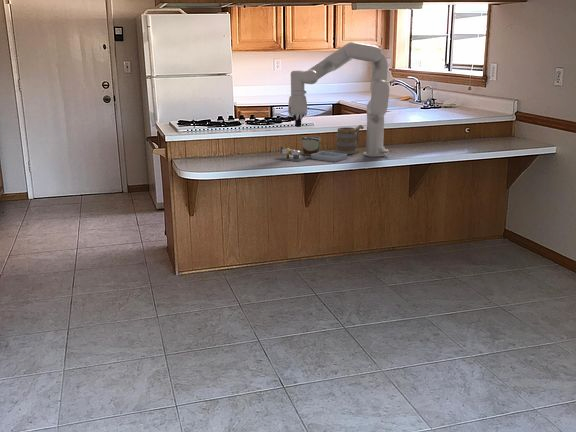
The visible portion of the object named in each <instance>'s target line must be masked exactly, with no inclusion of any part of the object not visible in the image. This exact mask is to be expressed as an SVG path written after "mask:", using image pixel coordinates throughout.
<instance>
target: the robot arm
mask: <svg viewBox="0 0 576 432" xmlns="http://www.w3.org/2000/svg"><path fill="white" fill-rule="evenodd" d="M352 60H358V61H365V62H369V63H370V64H371V78H370V85H369V91H370V93H371V94H370V95H371V96H370V100H369V101H368V103H367V104H366V146H365V150H366V151H364V152H362V153H363V156H364V157H365V156H366V157H371V158H372V157H374V158H375V157H376V158H378V157H385V156H386V155H387V154H389V153H390V150H389V149H386V146H384V138H385V137H384V133H385V132H384V130H385V115H386V114H387V111H388V106H389V97H390V85H389V83H388V71H389V69H388V68H389V67H388V65H389V64H388V59H387V57H386V56H385V54H384V52H383V51H382V49H381V47H379V46H377V45H371V44H365V43H361V42H355V41H350V42H348V43H346V44H344V45H343V46H341V47H340V48H339V49H337V50H336V51H333V52H332V53H330V55H328V56H326V57H325V58H324V59H323V60H321V61H319V62H318V63H317V64H315V65H314V66H312V67H311V68H309V69H307V70H305V71H304V70H291V72H290V96H289V98H288V107H287V112H288V116H289V117H291V118H293V119H294V124H295V127H296V128H301V126H302V120H303V118H304V117H306V116H307V115H308V103H307V102H308V101H307V97H306V94H307V90H305V85H306V84H307V85H314V84H316V83H317V82H318V80H320V79H322V77H324V76H326V75H327V74H329V73H331V72H334V71H336V70H338V69H340V68H341V67H343V66H344V65H346V64H347V63H349V62H350V61H352Z"/></svg>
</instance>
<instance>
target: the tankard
mask: <svg viewBox="0 0 576 432" xmlns="http://www.w3.org/2000/svg"><path fill="white" fill-rule="evenodd" d="M360 130H364V125H362V124H359V125H358V126H357V127H338V128H337V132H336V138H337V141H335V144H336V147H337V148H335V150H334V153H341V154H347V155H353V154H354V153H355V154H357V153H358V148H359V147H360V145H361V136H360V135H361V134H360Z"/></svg>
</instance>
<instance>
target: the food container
mask: <svg viewBox="0 0 576 432" xmlns="http://www.w3.org/2000/svg"><path fill="white" fill-rule="evenodd" d="M321 139H322V138H321V137H320V136H317V135H303V136H301V138H300V141H301V146H302V154H303V155H306V156H311V154H314V153H318V152H320V144H321V143H320V142H321V141H322V140H321Z"/></svg>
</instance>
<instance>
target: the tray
mask: <svg viewBox="0 0 576 432" xmlns="http://www.w3.org/2000/svg"><path fill="white" fill-rule="evenodd" d="M310 157H311V159H310V160H318V161H324V162H326V161H327V162H333V163H336V162H340V161H344V160H347V159H348V154H341V153H335V152H332V151H323V150H322V151H319V152H318V153H314V154H311V155H310Z"/></svg>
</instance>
